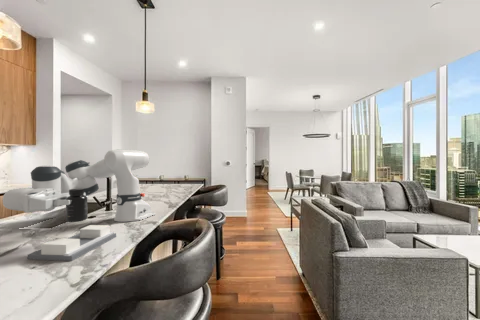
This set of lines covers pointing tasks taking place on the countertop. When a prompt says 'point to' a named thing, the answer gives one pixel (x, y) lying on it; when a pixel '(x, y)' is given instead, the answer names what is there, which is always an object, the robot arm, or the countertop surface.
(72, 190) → the supplement bottle
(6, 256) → the countertop surface
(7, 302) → the countertop surface
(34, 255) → the rail panel
